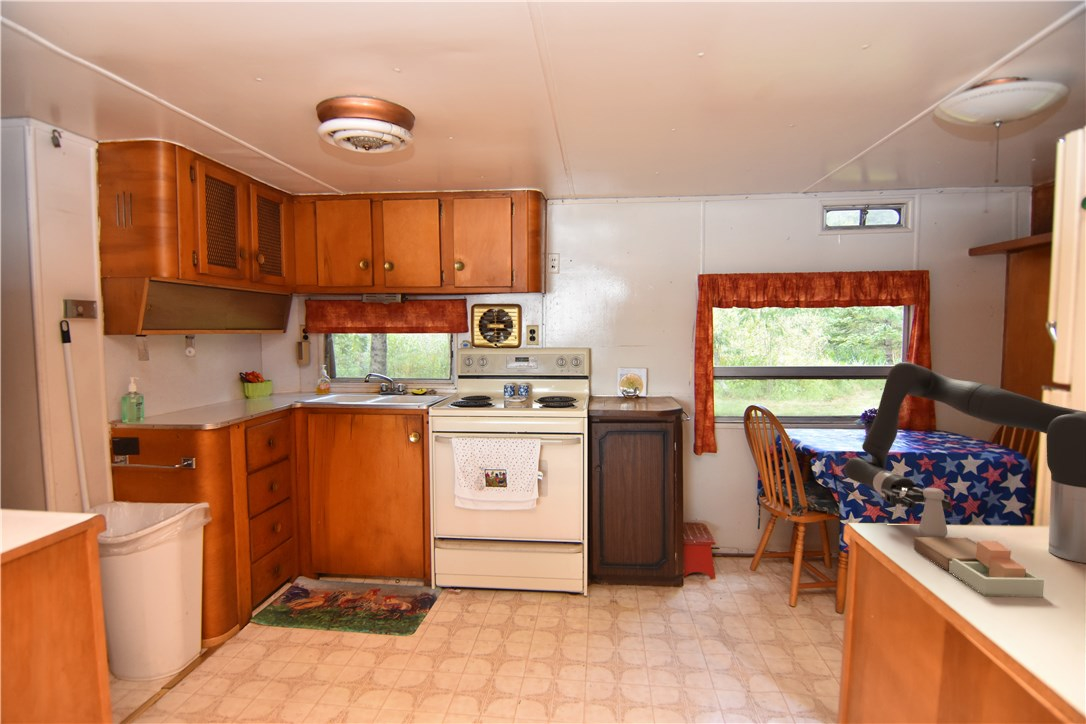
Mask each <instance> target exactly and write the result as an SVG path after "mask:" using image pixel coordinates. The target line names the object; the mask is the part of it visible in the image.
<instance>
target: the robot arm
mask: <svg viewBox="0 0 1086 724" xmlns="http://www.w3.org/2000/svg"><path fill="white" fill-rule="evenodd" d="M882 390H883V392H882V393H881V394H882V395H881V398H880V400H879V405H878V408H877V411H876V415H875V417H874V420H873V422H872V424H871V426H870V428H869V430H868V433H867V435H866V437H865V439H864V441H863V443H862V446H861V447H862V451H864V452H865V453H866V454H868V455H870V456H871V461H868V460H866V459H863V458H861V457H851V458H850V459H848V460H847V461H846V463H844V464H845V465H844V472H845V475H846V476H847V478H848V479H850V480H853V481H854V482H856V483H859V484H862V485H864V486H865V487H866V486H867V487H869V488H870V489H872V490H873V491H875V492H877V493H879V494H880V495H881V497H880V499H882V500H883V501H885V502H886V503H888V504H890V505H891V506H896V505H898V506H902V507H903V506H904V507H905V508H907V509H909V510H916V504H922V505H925V502H926V498H925V497H924V496H923V491H924V489H922V488H920V487H918V486H917V484H915V482H914V481H913V480H912V479H910V478H907V477H905V476H903V475H901V474H899V473H896V472H895V471H894V472H893V471H889V470H888V469H886V465H887V464H886V463H887V460H888V455H889V452H890V451H891V448H892V446H893V444H894V443H895V441H896V438H897V435H898V430H899V417H900V416H899V415H900V410H901V406H902V404H903V402H904V400H905V398H906V397H907V396H908V395H909V396H912V397H913V396H914V397H917V398H918V397H919V398H924V399H927V400H932V401H936V402H940V403H943V404H945V405H948V406H949V407H952V408H953V409H955V410H957V411H958V412H961V413H962V414H965V415H967V416H970V417H973V418H975V419H978V420H981V421H984V422H988V423H991V424H995V425H1000V426H1005V427H1010V428H1011V427H1012V428H1017V429H1024V430H1030V431H1035V432H1040V433H1043V434H1046V438H1045V439H1046V464H1047V468H1048V470H1049V471H1050V494H1049V495H1050V497H1049V498H1050V501H1049V526H1048V527H1049V528H1048V550H1047V551H1048V552H1050V553H1051V554H1052V555H1054V556H1056V557H1059V558H1062V559H1064V560H1068V561H1072V562H1078V563H1083V564H1086V411H1085V410H1080V409H1073V408H1069V407H1064V406H1059V405H1054V404H1050V403H1047V402H1044V401H1040V400H1037V399H1035V398H1032V397H1029V396H1026V395H1022V394H1019V393H1017V392H1016V393H1015V392H1013V391H1010V390H1007V389H1004V388H1000V387H997V386H994V385H993V386H992V385H989V384H986V383H982V382H978V381H977V382H976V381H970V380H961V379H955V378H951V377H949V376H946V375H944V374H940V373H938V372H935V371H933V370H931V369H929V368H927V367H925V366H923V365H922V366H921V365H919V364H916V363H912V362H909V361H902V362H901V361H900V362H898V363H896V364H894V365H893V366H892V367H891V369H890V370H889V372H888V374H887V377H886V380H885V383H884V387H883V389H882ZM941 502H942V506H943V510H946V511H950V510H951V509H952V502H951V501H950V500H949V495H948V494H946V493H944V499H943V500H941Z"/></svg>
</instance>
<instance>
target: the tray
mask: <svg viewBox="0 0 1086 724" xmlns="http://www.w3.org/2000/svg"><path fill="white" fill-rule="evenodd" d="M989 569H990V568H988V567H987V566H985V565H984V564H983V563H981V562H961V561H959V560H957V559H953V558H952V561H949V572H951V573H952V574H954V575H955V576H957V577H958V578H960V579H961V580H963V581H964V582H965V583H964V582H963V581H962V582H963V583H964V584H966V583H967V584H968V585H967V584H966V585H967V586H969V585H970V586H971V587H970V586H969V587H970V588H972V587H973V588H974V589H973V588H972V589H973V590H975V589H976V590H977V591H976V590H975V591H976V592H978V591H979V592H980V593H979V592H978V593H979V594H980V595H982V594H983V595H982V596H984V597H1009V596H1011V597H1014V596H1016V597H1018V598H1019V597H1020V596H1021V597H1020V598H1023V597H1024V598H1027V597H1029V598H1031V597H1032V598H1044V590H1045V589H1044V588H1045V587H1044V585H1045V579H1044V578H1042V577H1039V576H1038V575H1036V574H1034V573H1033V572H1030V571H1028V570H1027V569H1026V573H1025V578H1004V577H990V576H989ZM949 572H948V573H949ZM952 574H951V575H952ZM954 575H953V576H954ZM955 576H954V577H955ZM957 577H956V578H957ZM958 578H957V579H958ZM960 579H959V580H960ZM961 580H960V581H961ZM1016 597H1014V598H1016Z"/></svg>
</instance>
